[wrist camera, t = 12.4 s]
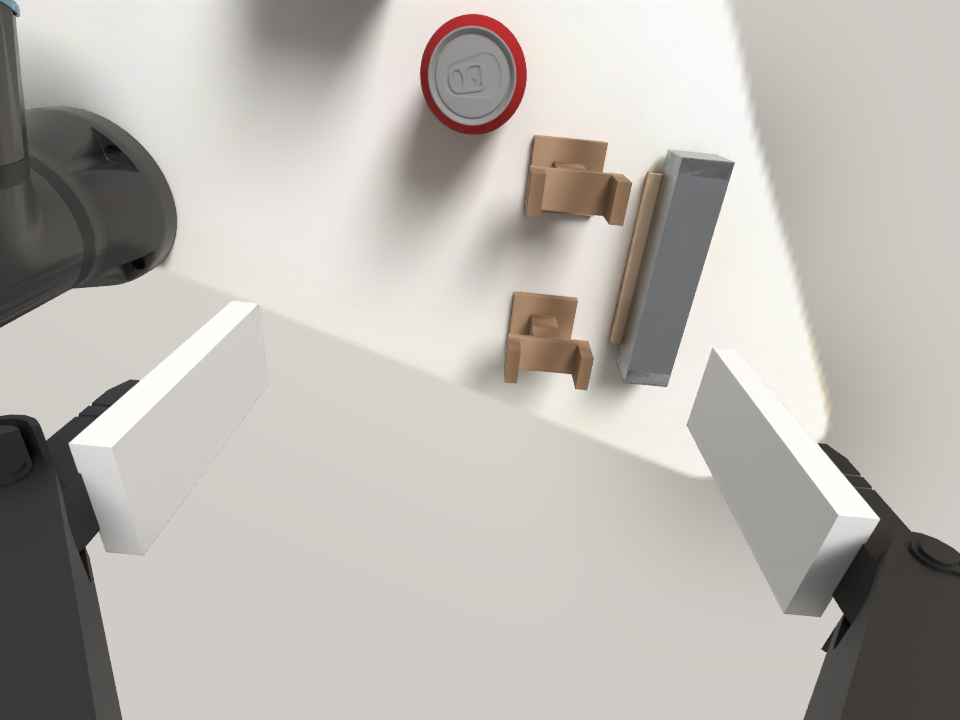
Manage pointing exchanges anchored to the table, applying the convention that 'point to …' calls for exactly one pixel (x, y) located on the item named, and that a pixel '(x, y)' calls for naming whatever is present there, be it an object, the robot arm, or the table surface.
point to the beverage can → (473, 74)
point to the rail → (672, 264)
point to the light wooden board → (635, 255)
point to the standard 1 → (546, 339)
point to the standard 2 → (574, 180)
